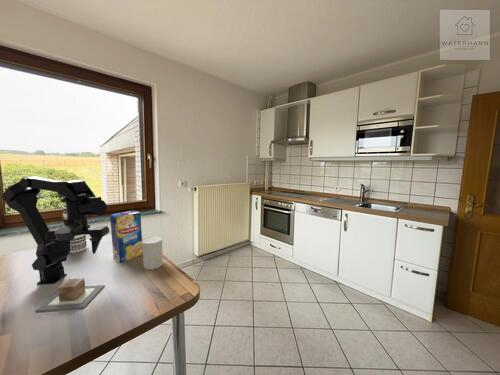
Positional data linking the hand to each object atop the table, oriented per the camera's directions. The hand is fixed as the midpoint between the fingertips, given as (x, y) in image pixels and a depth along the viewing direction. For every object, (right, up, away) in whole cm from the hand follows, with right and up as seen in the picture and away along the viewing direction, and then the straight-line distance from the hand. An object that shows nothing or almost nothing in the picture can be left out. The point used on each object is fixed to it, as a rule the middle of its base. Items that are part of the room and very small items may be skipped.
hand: (81, 254), depth 79 cm
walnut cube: (+3, -12, -7) cm, 15 cm away
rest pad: (+3, -13, -7) cm, 15 cm away
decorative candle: (-28, -8, +32) cm, 43 cm away
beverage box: (+4, -9, +24) cm, 26 cm away
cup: (+20, -10, +16) cm, 28 cm away
